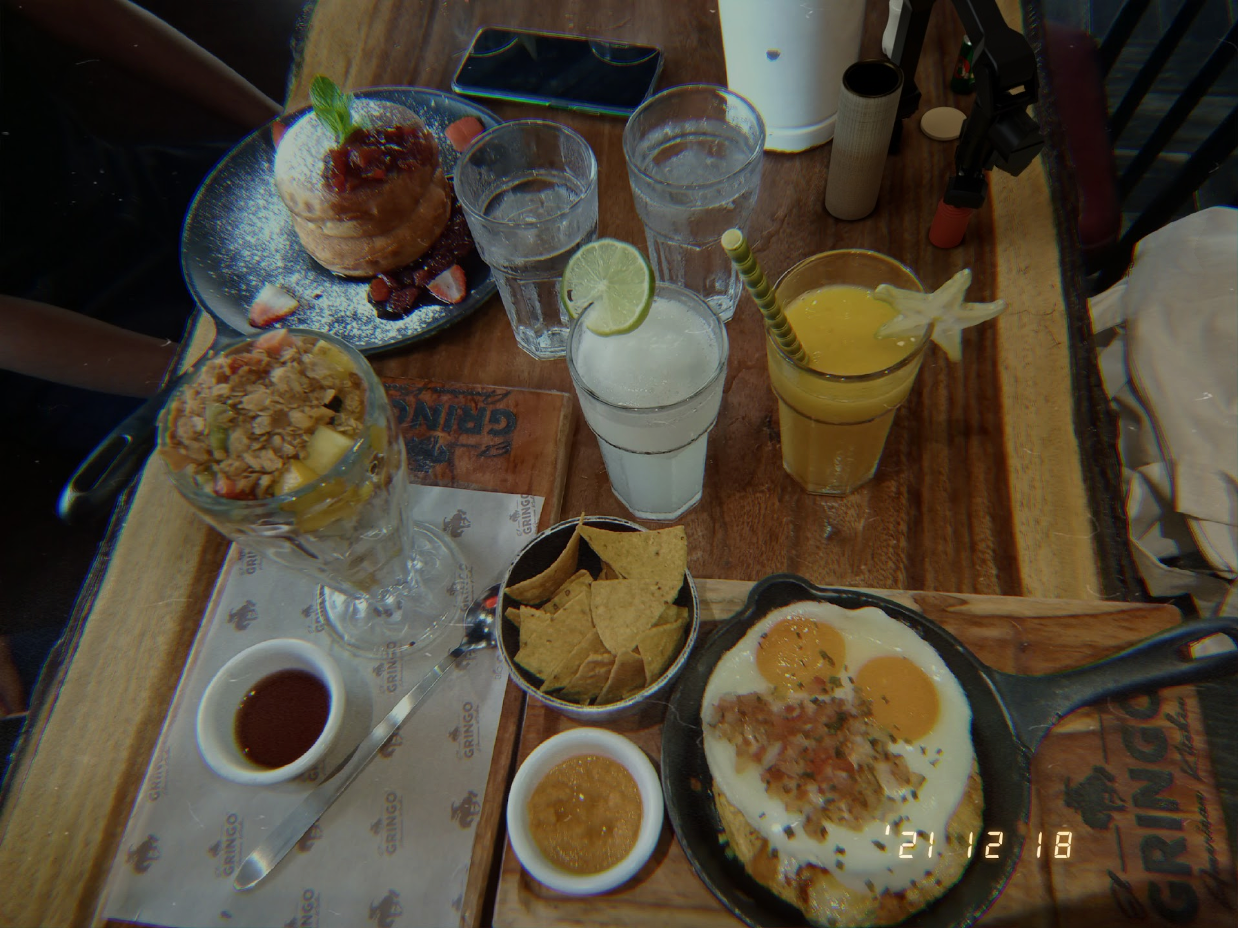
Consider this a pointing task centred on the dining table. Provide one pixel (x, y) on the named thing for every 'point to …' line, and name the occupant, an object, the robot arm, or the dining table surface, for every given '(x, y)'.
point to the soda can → (963, 68)
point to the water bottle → (891, 26)
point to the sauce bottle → (949, 225)
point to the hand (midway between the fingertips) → (959, 199)
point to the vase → (862, 136)
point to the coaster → (942, 123)
